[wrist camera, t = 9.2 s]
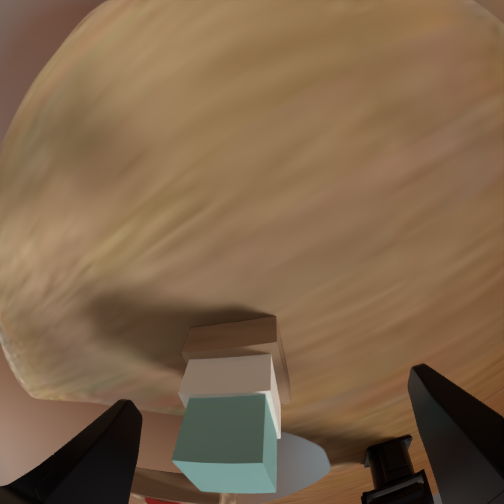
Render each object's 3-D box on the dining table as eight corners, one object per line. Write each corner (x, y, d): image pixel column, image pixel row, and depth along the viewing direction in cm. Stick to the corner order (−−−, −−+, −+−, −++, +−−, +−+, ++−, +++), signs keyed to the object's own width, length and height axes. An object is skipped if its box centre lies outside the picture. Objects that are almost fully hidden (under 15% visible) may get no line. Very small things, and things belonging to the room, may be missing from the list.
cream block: (280, 405, 21) (280, 438, 18) (210, 408, 22) (203, 440, 19) (270, 353, 19) (270, 390, 16) (189, 359, 20) (177, 393, 17)
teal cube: (276, 434, 18) (276, 492, 13) (211, 437, 19) (201, 491, 14) (265, 394, 16) (262, 462, 12) (189, 398, 17) (171, 460, 12)
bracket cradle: (237, 493, 37) (235, 518, 32) (159, 487, 39) (153, 509, 33) (222, 475, 33) (218, 505, 28) (136, 467, 35) (128, 491, 30)
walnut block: (289, 374, 25) (290, 403, 21) (215, 382, 25) (209, 410, 22) (276, 313, 22) (276, 341, 19) (191, 325, 23) (180, 352, 20)
